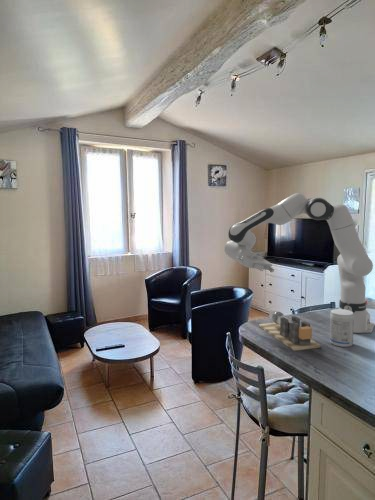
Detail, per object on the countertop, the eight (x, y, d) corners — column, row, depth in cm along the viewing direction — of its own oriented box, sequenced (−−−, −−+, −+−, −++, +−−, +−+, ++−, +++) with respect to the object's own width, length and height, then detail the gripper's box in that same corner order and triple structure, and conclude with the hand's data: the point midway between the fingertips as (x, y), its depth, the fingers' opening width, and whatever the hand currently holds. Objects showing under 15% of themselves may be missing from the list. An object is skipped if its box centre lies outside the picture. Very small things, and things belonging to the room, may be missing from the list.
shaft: (266, 320, 170) (267, 309, 169) (277, 319, 171) (277, 308, 171) (289, 334, 149) (290, 322, 148) (301, 333, 150) (301, 320, 150)
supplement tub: (337, 338, 154) (338, 307, 152) (357, 344, 146) (358, 312, 144) (325, 342, 148) (326, 311, 147) (345, 349, 140) (346, 316, 139)
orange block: (298, 337, 143) (298, 327, 143) (307, 336, 144) (308, 326, 144) (302, 339, 141) (302, 329, 140) (311, 338, 142) (311, 328, 141)
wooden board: (259, 326, 171) (259, 308, 171) (281, 324, 175) (281, 306, 174) (294, 350, 140) (294, 329, 139) (320, 347, 143) (321, 326, 142)
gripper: (238, 251, 166) (258, 262, 156) (261, 255, 180) (281, 266, 170) (233, 262, 167) (253, 274, 158) (256, 265, 181) (276, 276, 172)
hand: (268, 270), depth 164 cm, fingers open, 8 cm apart
